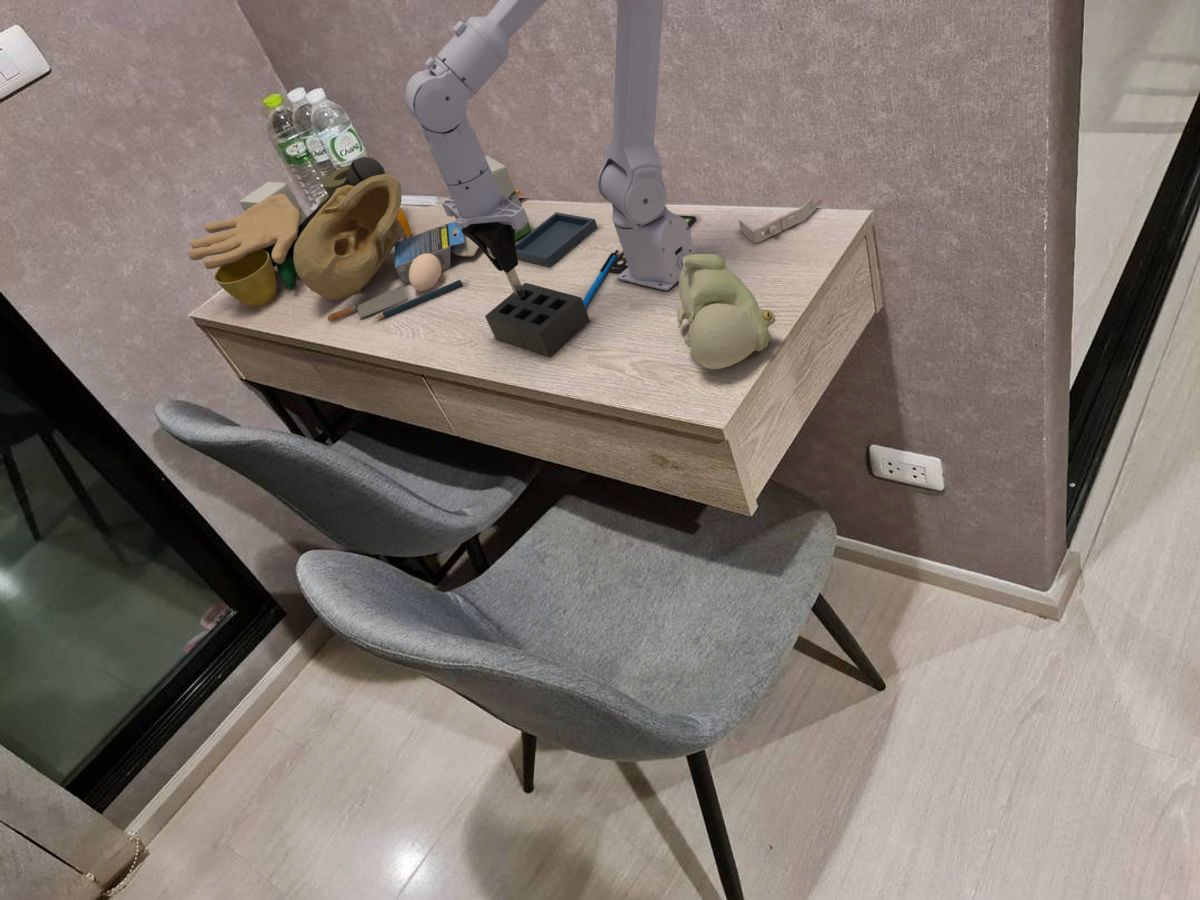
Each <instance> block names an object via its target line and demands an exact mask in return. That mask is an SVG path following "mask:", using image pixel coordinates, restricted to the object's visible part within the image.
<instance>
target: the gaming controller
mask: <svg viewBox="0 0 1200 900" xmlns="http://www.w3.org/2000/svg"><path fill="white" fill-rule="evenodd" d="M293 258H294V254H293V255H292V256H290V257H289V258H287V259H286V260H284V262H283V263H277V266H276V268H277V272H278V276H279V277H280V278H279V279H281V281H282V282H283V284H284V285H285V286H286V287H287V288H288V289H294V288H295V287H296V286H297V284H296V278H300V277H299V276H298V274H297V272H296V269H295V265H294V260H293Z"/></svg>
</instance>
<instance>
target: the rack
mask: <svg viewBox="0 0 1200 900" xmlns="http://www.w3.org/2000/svg"><path fill="white" fill-rule="evenodd" d="M521 285H522V287H523V290H524V292H525V294H526V295H525V296H524V297H522V298H521V299H520V300H519V299H517V298H516V296H515V294H514V291H513V292H511V294H510V295H508V296H507V297H506V298H505V299H503V300H502V301H501V302H500V303H498V304H497V305H496V306H495V307H494V308H493V309H491V310H490V311H489V312H488V313H487V314H485V315H484V318H485V319H486V322H487V324H488V325H489V329H490V330H491V333H492V334H493V336H494V339H495V340H499V341H501V342H504V343H507V344H510V345H513V346H516V347H518V348H521V349H524V350H528V351H531V352H532V353H535V354H539V355H542V356H544V357H548V358H551V357H552V356H553V355H555V354H556V353H557V352H558V351H559V350H560V349H561V348H562V347H563V346H564V345H565V344H567V342H569V341H570V340H571V339H572V338H573V337H574V336H576V334H577V333H579V332H580V331H581V330H582V329H584V327H586V326H587V325H588V324H589V323H590V322H591V319H590V317H589V314H588V311H587V309H586V308H585V306H584V304H583V298H582V297H581V296H577V295H574V294H571V293H568V292H562V291H559V290H556V289H551V288H547V287H545V286H540V285H537V284H533V283H528V282H524V283H522V284H521Z"/></svg>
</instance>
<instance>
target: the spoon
mask: <svg viewBox="0 0 1200 900" xmlns="http://www.w3.org/2000/svg"><path fill="white" fill-rule="evenodd" d="M487 251H488V253H489V255H490V256H491V257H492V258H493V259H495V257H494V255H493V253H492V252H491V251H490V249H489V248H488V247H487ZM504 273H505V275H506V279H507V281H508V283H509V285H510V287H511V289H512V291H513V292H514V294H515V296H516V298H517V299H519V300H520V299H521V298H522V297H524V296H525V295H526V294H525V292H524V290H523V287H522V285H523V284H522V283H521V280H520V279H519V276H518V274H517V271H516V269H515V268H513V269H512V270H511V271H510V272H508V273H506V272H504Z"/></svg>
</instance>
